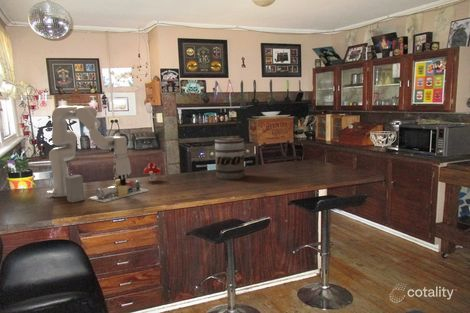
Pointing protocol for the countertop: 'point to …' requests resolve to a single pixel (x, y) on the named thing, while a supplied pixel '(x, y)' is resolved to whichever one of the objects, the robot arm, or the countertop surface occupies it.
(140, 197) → the countertop surface
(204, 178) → the countertop surface
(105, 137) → the robot arm
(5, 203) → the countertop surface
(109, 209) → the countertop surface
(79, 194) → the skincare box
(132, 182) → the lever
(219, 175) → the barrel
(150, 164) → the decorative mushroom
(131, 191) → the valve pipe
